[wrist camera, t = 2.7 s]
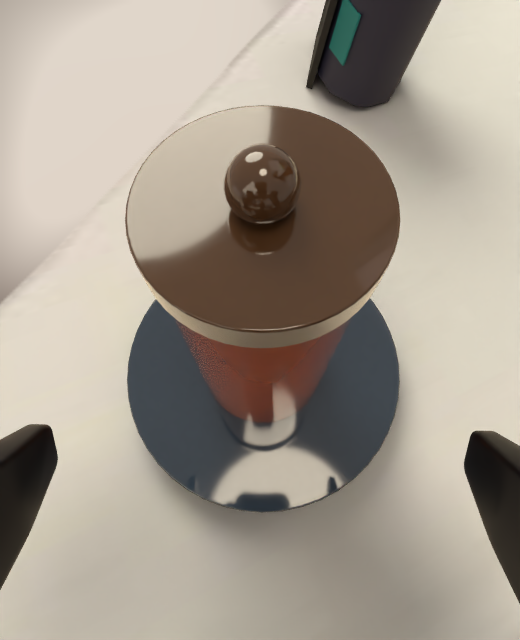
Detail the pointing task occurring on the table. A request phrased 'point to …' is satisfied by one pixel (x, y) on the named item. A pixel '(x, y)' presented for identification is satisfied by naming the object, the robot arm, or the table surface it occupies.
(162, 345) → the slate plate
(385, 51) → the speaker
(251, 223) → the canister
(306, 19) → the table surface
